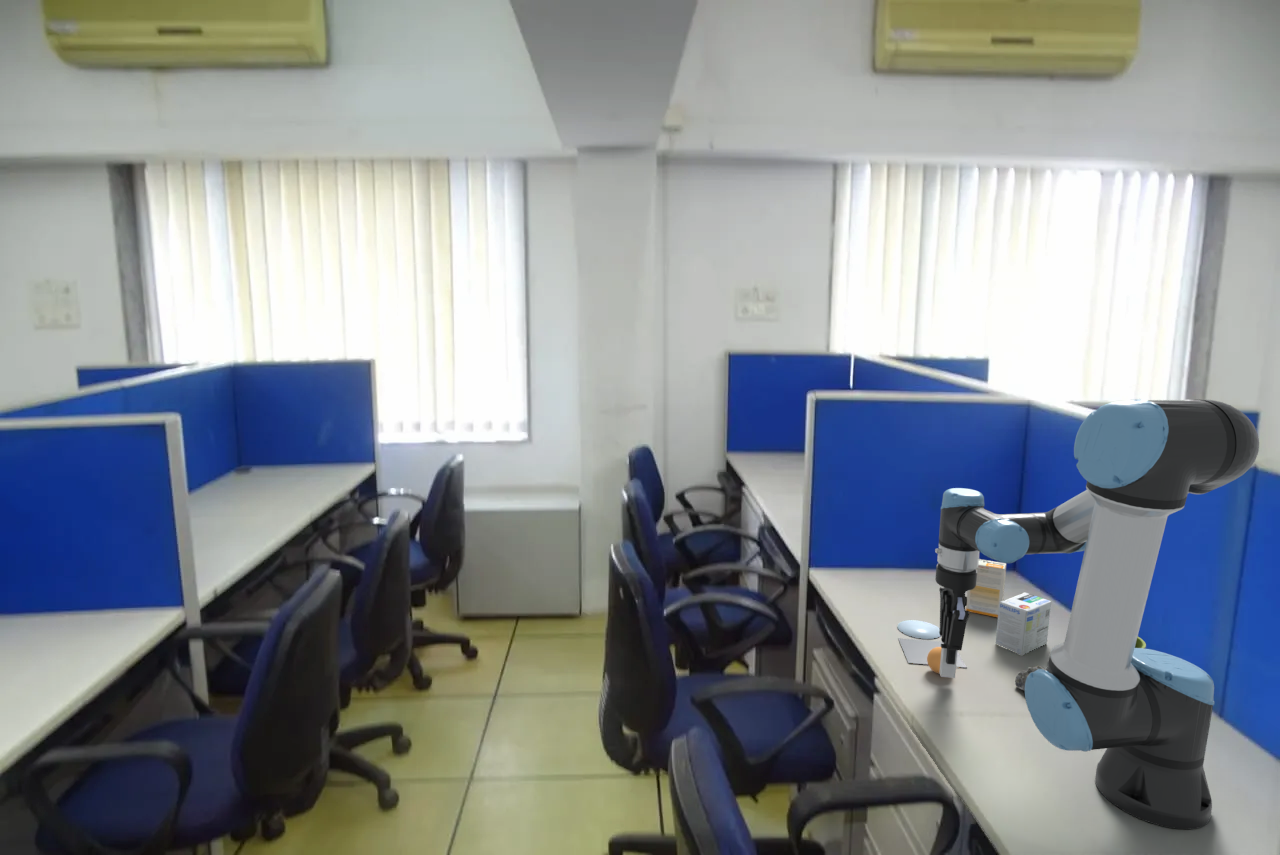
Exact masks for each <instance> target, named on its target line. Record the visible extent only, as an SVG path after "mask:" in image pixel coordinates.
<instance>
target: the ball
mask: <svg viewBox="0 0 1280 855" xmlns="http://www.w3.org/2000/svg"><path fill="white" fill-rule="evenodd" d="M941 649H942V648H941V647H936V648H933V649H932V650H931V651H930V652H929V653H928V656H927V662H928V665H927V666H929V669H931V670H932V671H933V672H934V673H936V674H939V675H940V673H939V672H940V660H941Z"/></svg>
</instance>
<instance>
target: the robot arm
mask: <svg viewBox="0 0 1280 855" xmlns="http://www.w3.org/2000/svg"><path fill="white" fill-rule="evenodd" d="M1259 449H1260V438H1259V434H1258V431H1257V430H1256V427H1255V424H1254V423H1253V422H1252V421H1251V419H1249V417H1248V416H1247V415H1246V414H1245V413H1243V412H1242V411H1241V410H1239V409H1237V408H1235V407H1234V406H1232V405H1231V404H1228V403H1226V402H1223V401H1218V400H1213V399H1183V400H1182V399H1181V400H1180V399H1178V400H1177V399H1174V400H1173V399H1141V398H1136V399H1129V400H1124V401H1113V402H1108V403H1106V404H1103V405H1101V406H1099V407H1098V408H1097V409H1094V410H1093V411H1091V412H1090V413H1089V414H1088V415H1087V416H1086V417H1085V419H1084V420H1083V422H1082V423H1081V425H1080V426H1079V428H1078V430H1077V433H1076V436H1075V440H1074V445H1073V456H1074V459H1075V460H1078V461H1077V463H1076V468H1077V469H1078V470H1077V471H1078V472H1079V473H1080V476H1082V478H1083V479H1084V480H1086V484H1085V488H1086V489H1085V490H1084V491H1082V492H1081V493H1079V494H1077V495H1075V496H1074V497H1072V498H1070V499H1068V500H1067V501H1065V502H1064V503H1061V504H1060V505H1058V506H1056V507H1054V508H1052V509H1050V510H1049V511H1045V512H1029V513H1028V512H1027V513H1025V512H1024V513H1004V514H1002V513H1001V514H999V513H994V512H993V511H990V510H988V509H986V508H984V507H985V496H984V495H983V493H982V492H980V491H978V490H975V489H972V488H963V487H955V488H954V487H953V488H949V489H946V490H945V491H943V494H942V501H941V506H940V515H939V516H940V519H939V532H938V533H939V535H938V548H935V549H934V552H935V553H936V554H937V564H936V567H935V582H936V583H937V584H938V585H939V586H940V587H939V597H940V598H939V600H940V601H939V628H940V631H939V634H940V637H941V638H940V641H942V643H944V644H941V648H942V649H941V660H940V672H939V673H940V674H939V675H940V677H941V678H952V679H956V670H957V668H956V662H957V651H958V652H959V651H962V649H963V643H964V638H965V633H966V628H967V627H966V626H967V621H968V620H969V617H970V612H969V611H966V605H967V595H966V593H967V591H968V590H972V589H974V588H975V587H976V581H977V570H976V568H977V567H978V564H979V559H980V553H981V554H983V555H984V556H986V557H987V558H989V559H991V560H994V561H996V562H1000V563H1006V564H1012V563H1015V562H1016V561H1018V560H1020V559H1022V558H1024V556H1025V555H1039V554H1040V555H1043V554H1072V553H1073V554H1074V553H1076V552H1077V553H1079V552H1083V557H1082V561H1081V566H1080V570H1079V574H1078V575H1079V576H1078V580H1077V583H1076V589H1075V594H1074V597H1073V602H1072V607H1071V611H1070V616H1069V620H1068V624H1067V625H1068V626H1067V630H1066V634H1065V638H1064V641H1063V642H1061V643H1059V644H1056V645H1054V646H1052V648H1051V650H1050V652H1049V657H1048V662H1047V666H1046V668H1044V669H1045V670H1043V669H1038V670H1036V671H1034V672H1032V673H1030V674H1029V675H1028V677H1027V679H1026V682H1025V691H1024V697H1025V703H1026V707H1027V710H1028V712H1029V714H1030V717H1031V720H1032V721H1033V723H1034V725H1035V727H1036V728H1037V730H1038V731H1039V732H1040V734H1041V735H1042V736H1043V738H1044V739H1045V740H1046V741H1048V742H1049V743H1050V744H1051V745H1053V746H1054V747H1055V748H1058V749H1059V750H1063V751H1068V752H1069V751H1074V752H1075V751H1076V752H1078V751H1081V752H1085V753H1086V752H1091V751H1092V750H1094V751H1095V750H1102V749H1106V750H1105V751H1104V753H1103V754H1102V757H1101V759H1100V760H1098V762H1097V765H1096V767H1095V776H1094V779H1095V780H1094V781H1095V785H1096V787H1097V788H1098V791H1100V793H1101V794H1102V796H1104V797H1105V798H1106V799H1107V800H1108V801H1109V802H1111V803H1112V804H1113V805H1115V806H1116V807H1118V809H1120V810H1122V811H1124V812H1125V813H1127V814H1130V815H1132V816H1133V817H1136V818H1138V819H1141V820H1142V821H1145V822H1148V823H1150V824H1154V825H1158V826H1161V827H1166V828H1169V829H1170V828H1171V829H1178V830H1193V829H1199V828H1202V827H1204V826H1206V825H1207V824H1208V823H1209V822H1210V819H1211V816H1212V810H1213V800H1212V797H1211V793H1210V792H1211V791H1210V789H1209V784H1208V780H1207V776H1206V772H1205V769H1204V762H1205V756H1206V750H1207V744H1208V739H1209V738H1208V737H1209V734H1210V733H1209V732H1210V727H1211V720H1212V713H1213V708H1214V706H1215V700H1214V698H1215V697H1214V694H1215V685H1214V680H1213V678H1212V677H1211V676H1210V675H1209V674H1208V672H1206V671H1205V670H1203V668H1200V667H1199V666H1198V665H1195V664H1194V663H1191V662H1190V661H1187V660H1185V659H1184V658H1181V657H1178V656H1175V655H1172V654H1170V653H1166V652H1163V651H1159V650H1155V649H1151V648H1145V649H1144V648H1135V644H1136V640H1137V636H1138V637H1139V631H1140V628H1141V624H1142V620H1143V616H1144V612H1145V610H1146V609H1145V608H1146V606H1147V605H1146V604H1147V600H1148V596H1149V593H1150V588H1151V584H1152V580H1153V576H1154V573H1155V569H1156V565H1157V564H1156V563H1157V560H1158V556H1159V551H1160V550H1161V549H1160V548H1161V544H1162V541H1163V536H1164V532H1165V528H1166V524H1167V520H1168V517H1169V516H1170V515H1172V514H1174V513H1176V512H1178V511H1181V510H1183V509H1184V508H1185V505H1186V502H1187V499H1188V496H1189V494H1192V495H1204V494H1207V493H1209V492H1212V491H1214V490H1216V489H1218V488H1221V487H1223V486H1226V485H1227V484H1230V483H1231V482H1234V481H1235V480H1237V479H1238V478H1240V477H1242V476H1243V475H1245V473H1246V472H1247V471H1249V470H1250V469H1251V468H1252V466H1253V465H1254V464H1255V462H1256V459H1257V458H1258V455H1259V451H1260V450H1259Z"/></svg>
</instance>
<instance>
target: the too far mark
mask: <svg viewBox="0 0 1280 855" xmlns="http://www.w3.org/2000/svg"><path fill="white" fill-rule="evenodd" d="M897 630H899V632H901V633H902V632H903V633H902V634H904V635H906V636H909V637H911V636H912V637H911V638H914V637H915V638H914V639H919V638H921V639H920V640H935V639H934V638H936V639H938V637H939V638H940V637H941V636H940V634H939V631H940V626H937V625H935V624H934V623H931V622H927V621H924V620H917V619H912V620H911V619H910V620H909V619H908V620H903V621H900V622H898V624H897Z"/></svg>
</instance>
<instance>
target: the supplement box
mask: <svg viewBox="0 0 1280 855" xmlns="http://www.w3.org/2000/svg"><path fill="white" fill-rule="evenodd" d="M976 570H977V581H976V587H975V588H974V589H972V590H968V591H966V597H967V605H966V606H965V611H969V613H974V614H979V615H984V616H990V617H994V618H998V611H999V602H1000V601H1004V600H1005V599H1004V598H1005V597H1004V596H1005V587H1006V586H1005V585H1006V584H1005V583H1006V573H1007V563H1002V562H999V561H995V560H994V561H993V560H987V559H981V558H979V564H978V567H977V568H976Z"/></svg>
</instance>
